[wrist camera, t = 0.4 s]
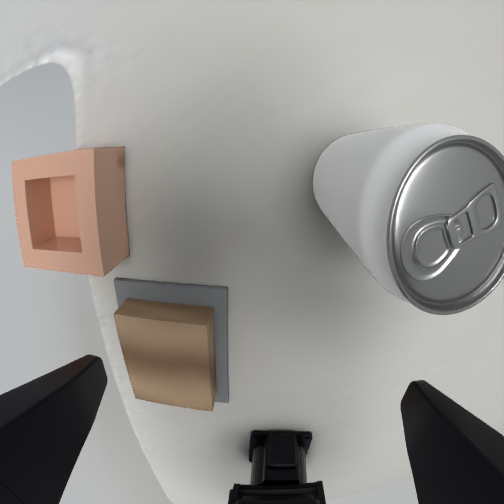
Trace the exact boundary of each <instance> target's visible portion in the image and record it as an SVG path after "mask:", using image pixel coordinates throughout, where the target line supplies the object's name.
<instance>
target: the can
mask: <svg viewBox="0 0 504 504" xmlns="http://www.w3.org/2000/svg"><path fill="white" fill-rule="evenodd" d="M313 191H314V196H315V199H316V201H317V204H318V205H319V207H320V209H321V210H322V212H323V213H324V214H325V216H326V217H327V218H328V220H329V221H330V222H331V224H332V225H333V226H334V227H335V229H336V230H337V231H338V233H339V234H340V235H341V236H342V238H343V239H344V240H345V242H346V243H347V244H348V245H349V247H350V248H351V249H352V251H353V252H354V253H355V254H356V256H357V257H358V258H359V260H360V261H361V262H362V264H363V265H364V266H365V268H366V269H367V270H368V271H369V273H370V274H371V275H372V276H373V277H374V279H375V280H376V281H377V282H378V283H379V284H380V285H381V286H382V287H383V288H384V289H385V290H387V291H388V292H389V293H391V294H392V295H394V296H396V297H397V298H399V299H402V300H404V301H407V302H410V303H411V304H412V305H414V306H415V307H417V308H418V309H420V310H422V311H425V312H427V313H431V314H436V315H450V314H455V313H459V312H462V311H465V310H467V309H469V308H471V307H473V306H475V305H476V304H478V303H479V302H481V301H482V300H483V299H485V298H486V297H487V296H488V295H489V294H490V293H491V292H492V291H493V290H494V289H495V288H496V287H497V285H498V284H499V283H500V281H501V280H502V279H503V277H504V156H503V155H502V154H501V153H500V152H499V151H498V150H497V149H496V148H495V147H494V146H492V145H491V144H490V143H488V142H486V141H485V140H483V139H480V138H478V137H475V136H471V135H469V134H468V133H466V132H464V131H462V130H460V129H458V128H456V127H453V126H449V125H445V124H437V123H425V124H413V125H404V126H397V127H390V128H383V129H377V130H371V131H366V132H360V133H355V134H351V135H347V136H344V137H341V138H339V139H337V140H336V141H334V142H333V143H331V144H330V145H329V146H328V147H327V148H326V149H325V150H324V151H323V152H322V154H321V155H320V157H319V159H318V161H317V163H316V166H315V169H314V174H313Z"/></svg>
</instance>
